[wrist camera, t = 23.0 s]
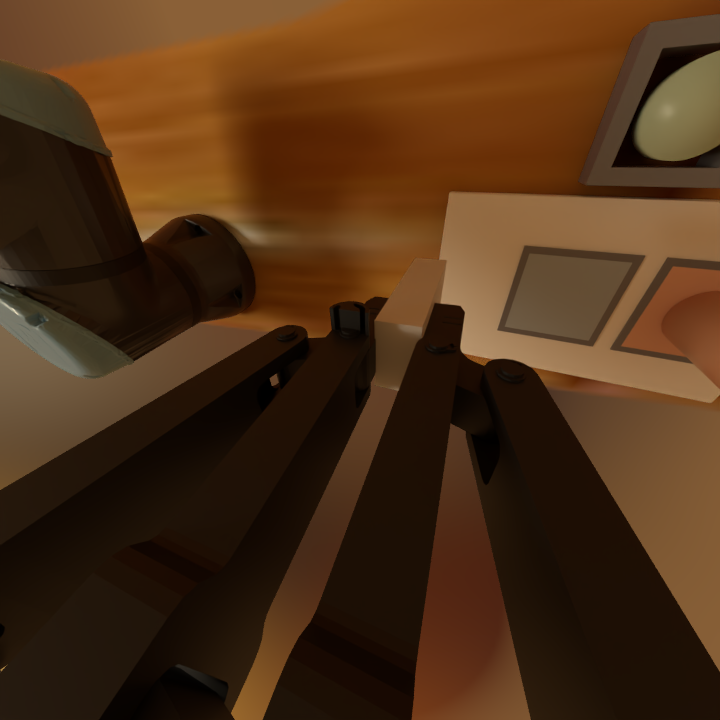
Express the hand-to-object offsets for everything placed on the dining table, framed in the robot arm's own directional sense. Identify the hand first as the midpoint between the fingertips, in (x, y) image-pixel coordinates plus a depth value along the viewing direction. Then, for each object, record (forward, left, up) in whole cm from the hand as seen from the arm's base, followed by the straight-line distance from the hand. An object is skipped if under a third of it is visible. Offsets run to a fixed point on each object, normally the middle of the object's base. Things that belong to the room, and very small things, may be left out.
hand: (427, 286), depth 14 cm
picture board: (+11, +9, -18) cm, 23 cm away
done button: (-2, +14, -16) cm, 22 cm away
